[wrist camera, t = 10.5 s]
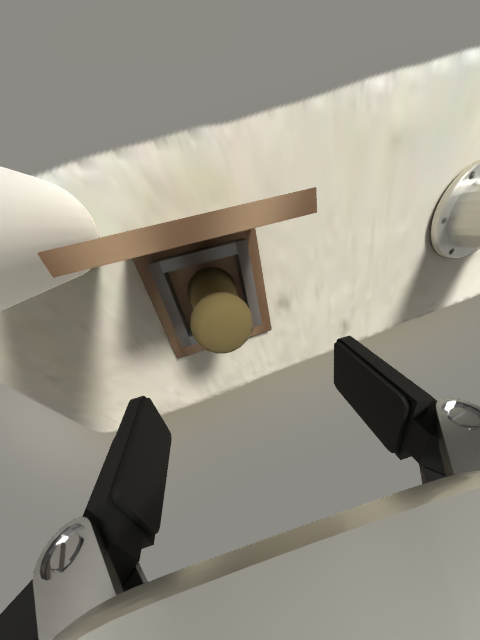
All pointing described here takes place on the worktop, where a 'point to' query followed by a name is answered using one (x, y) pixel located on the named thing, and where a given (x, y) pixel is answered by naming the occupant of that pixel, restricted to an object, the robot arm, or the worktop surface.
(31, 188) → the cylinder container
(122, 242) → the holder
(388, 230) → the worktop surface
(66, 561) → the robot arm
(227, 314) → the cork
